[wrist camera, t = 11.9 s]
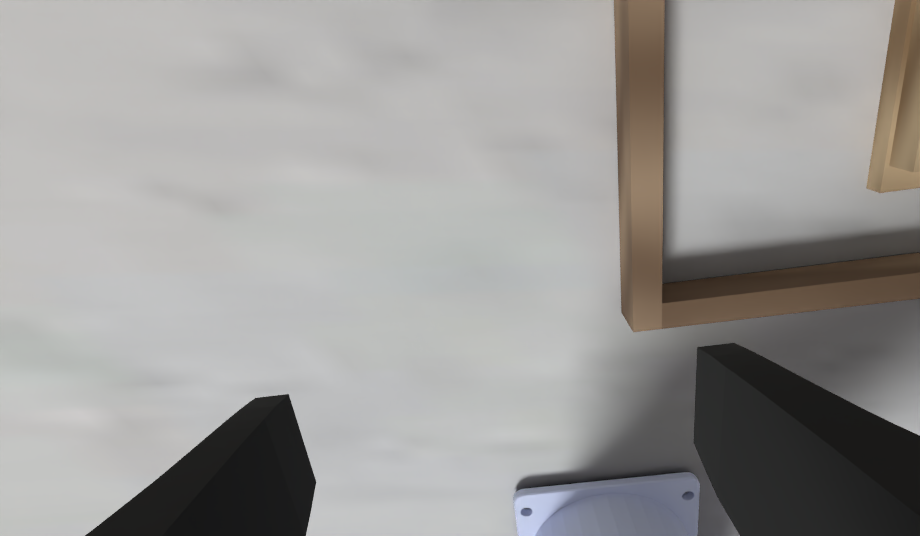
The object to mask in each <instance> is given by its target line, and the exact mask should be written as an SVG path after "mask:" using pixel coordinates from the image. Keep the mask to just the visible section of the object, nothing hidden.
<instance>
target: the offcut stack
mask: <svg viewBox="0 0 920 536" xmlns="http://www.w3.org/2000/svg"><path fill="white" fill-rule="evenodd" d="M913 188H920V0H895V5H894V11H893V18H892V25H891V31H890V38H889V44H888V51H887V57H886V64H885V70H884V77H883V83H882V90H881V96H880V103H879V109H878V116H877V123H876V129H875V136H874V142H873V149H872V155H871V162H870V168H869V175H868V181H867V189H870V190H873V191H876V192H879V193H884V192H891V191H898V190H906V189H913Z"/></svg>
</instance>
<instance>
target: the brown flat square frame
mask: <svg viewBox="0 0 920 536" xmlns="http://www.w3.org/2000/svg"><path fill="white" fill-rule="evenodd" d="M664 9H665V0H614V18H615V59H616V101H617V142H618V184H619V225H620V267H621V308H622V314H623V316H624V317H625V319H626V321H627V322H628V324H629V326H630V327H631V329H632V331H633V332H638V331H646V330H655V329H664V328H672V327H681V326H689V325H698V324H706V323H715V322H723V321H732V320H740V319H749V318H757V317H766V316H774V315H783V314H792V313H800V312H809V311H817V310H826V309H834V308H843V307H851V306H860V305H868V304H877V303H885V302H894V301H902V300H911V299H919V298H920V253H912V254H903V255H895V256H887V257H879V258H870V259H862V260H854V261H846V262H838V263H829V264H821V265H813V266H805V267H797V268H788V269H780V270H772V271H764V272H756V273H747V274H739V275H731V276H723V277H714V278H706V279H698V280H690V281H682V282H673V283H665V284H662V245H663V127H664Z"/></svg>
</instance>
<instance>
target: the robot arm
mask: <svg viewBox="0 0 920 536" xmlns="http://www.w3.org/2000/svg"><path fill="white" fill-rule="evenodd" d="M694 444H695V446H696V449H697V451H698V453H699V456H700V458H701V461H702V463H703V465H704V468H705V470H706V472H707V475H708V477H709V479H710V481H711V483H712V486H713V488H714V490H715V492H716V494H717V497H718V498H719V500H720V502H721V504H722V505H723V507H724V509H725V511H726V512H727V514H728V516H729V517H730V519H731V521H732V523H733V524H734V526H735V528H736V529H737V531H738V533H739V534H740V536H920V436H919V435H917V434H915V433H912V432H910V431H908V430H906V429H904V428H902V427H899V426H897V425H895V424H893V423H891V422H889V421H887V420H885V419H883V418H881V417H879V416H877V415H875V414H872V413H870V412H868V411H866V410H864V409H862V408H860V407H858V406H856V405H854V404H852V403H850V402H848V401H846V400H845V399H843V398H841V397H839V396H837V395H835V394H833V393H831V392H829V391H827V390H825V389H823V388H821V387H819V386H817V385H815V384H814V383H812V382H810V381H808V380H806V379H804V378H802V377H800V376H798V375H796V374H795V373H793V372H791V371H789V370H787V369H785V368H783V367H781V366H779V365H777V364H776V363H774V362H772V361H770V360H768V359H766V358H764V357H762V356H760V355H758V354H756V353H754V352H752V351H750V350H748V349H746V348H744V347H741V346H739V345H737V344H735V343H730V344H722V345H713V346H704V347H697V370H696V396H695V422H694ZM315 485H316V480H315V477H314V474H313V471H312V468H311V464H310V461H309V458H308V455H307V452H306V448H305V445H304V442H303V439H302V436H301V433H300V429H299V426H298V423H297V420H296V417H295V413H294V410H293V407H292V404H291V401H290V397H289V394H286V395H278V396H269V397H260V398H255V399H254V400H252V401H251V402H249V403H248V404H247V405H245V406H244V407H243V408H241V409H240V410H239V411H238V412H236V413H235V414H234V415H233V416H232V417H230V418H229V419H228V420H227V421H226V422H224V423H223V424H222V425H221V426H220V427H218V428H217V429H216V430H215V431H214V432H212V433H211V434H210V435H209V436H208V437H207V438H205V439H204V440H203V441H202V442H201V443H200V444H198V445H197V446H196V447H195V448H194V449H192V450H191V451H190V452H189V453H188V454H186V455H185V456H184V457H183V458H182V459H181V460H179V461H178V462H177V463H176V464H175V465H173V466H172V467H171V468H170V469H169V470H167V471H166V472H165V473H164V474H163V475H162V476H160V477H159V478H158V479H157V480H156V481H154V482H153V483H152V484H151V485H149V486H148V487H147V488H145V489H144V490H143V491H142V492H140V493H139V494H138V495H137V496H135V497H134V498H133V499H132V500H130V501H129V502H128V503H126V504H125V505H124V506H123V507H121V508H120V509H119V510H118V511H116V512H115V513H114V514H113V515H111V516H110V517H109V518H107V519H106V520H105V521H104V522H102V523H101V524H100V525H99V526H97V527H96V528H95V529H93V530H92V531H91V532H89V533H88V534H87V535H85V536H306V531H307V527H308V522H309V517H310V512H311V507H312V501H313V496H314V490H315ZM687 491H689V492H688V493H685V492H687ZM699 493H700V483H699V481H698V479H697V477H696V476H695V475H694V474H693V473H690V472H682V473H672V474H663V475H653V476H643V477H633V478H624V479H614V480H604V481H594V482H584V483H575V484H565V485H555V486H545V487H536V488H526V489H521V490H518V491H517V492H516V493H515V494H514V497H513V500H514V508H515V516H516V523H517V531H518V536H698V515H699ZM523 508H529V509H523Z"/></svg>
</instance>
